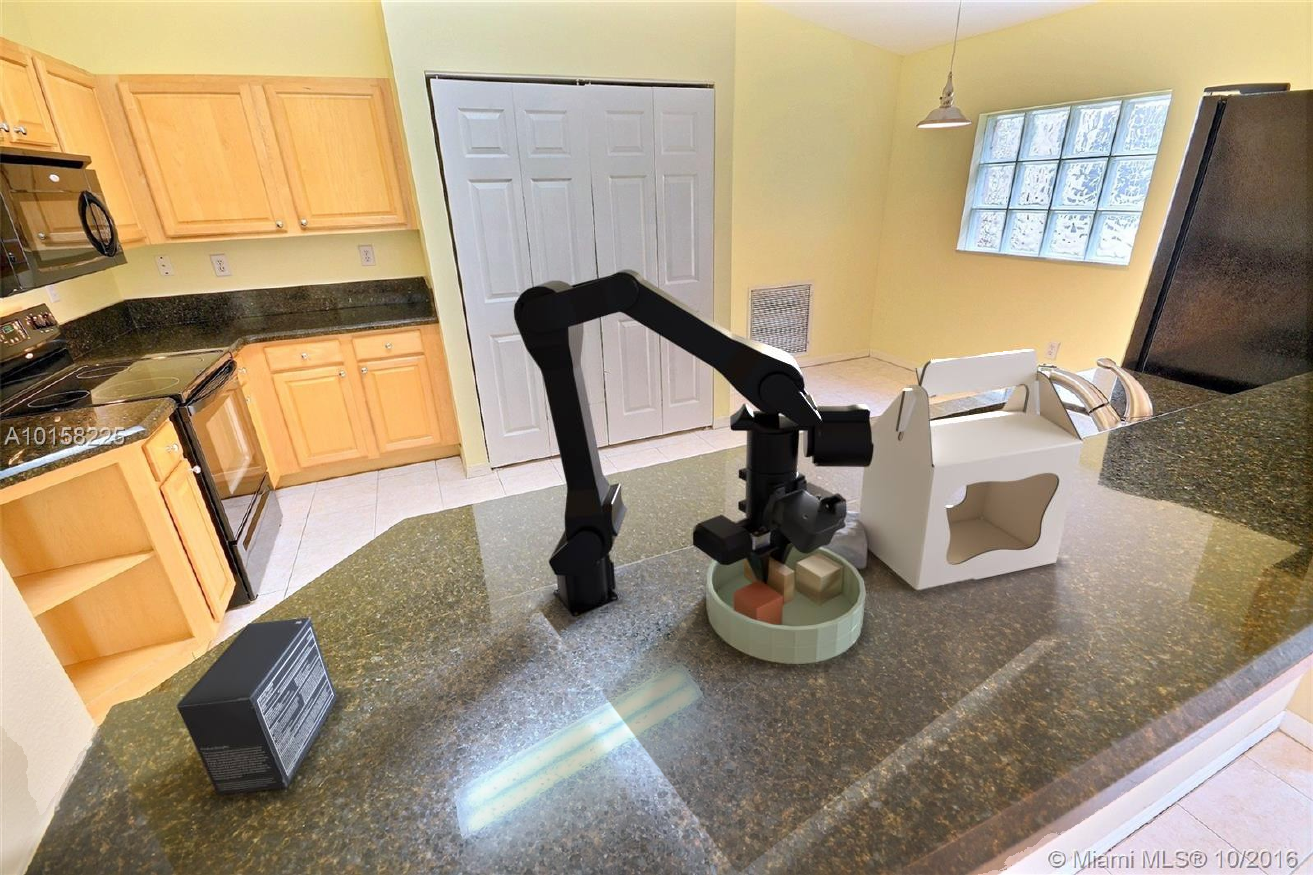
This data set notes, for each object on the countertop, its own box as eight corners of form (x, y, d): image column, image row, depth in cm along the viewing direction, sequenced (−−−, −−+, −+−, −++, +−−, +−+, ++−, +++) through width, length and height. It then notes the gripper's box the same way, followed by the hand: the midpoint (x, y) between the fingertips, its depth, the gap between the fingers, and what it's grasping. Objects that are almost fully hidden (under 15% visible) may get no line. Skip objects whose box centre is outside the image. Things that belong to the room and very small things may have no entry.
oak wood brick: (783, 605, 68) (784, 576, 66) (743, 577, 73) (744, 550, 72) (793, 600, 68) (794, 571, 67) (753, 573, 74) (753, 546, 73)
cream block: (819, 605, 70) (820, 577, 69) (795, 589, 73) (796, 562, 72) (841, 593, 72) (843, 566, 71) (817, 578, 75) (819, 552, 74)
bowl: (780, 694, 58) (782, 654, 56) (677, 603, 73) (676, 569, 71) (895, 624, 67) (899, 588, 65) (783, 556, 82) (784, 525, 80)
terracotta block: (756, 638, 65) (756, 608, 64) (733, 619, 68) (733, 591, 67) (782, 624, 67) (783, 595, 66) (758, 607, 70) (759, 579, 69)
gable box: (982, 518, 89) (1013, 338, 79) (1058, 563, 77) (1105, 357, 67) (854, 542, 84) (871, 353, 74) (914, 594, 72) (942, 377, 62)
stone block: (798, 580, 79) (874, 570, 76) (790, 550, 78) (867, 538, 75) (796, 538, 90) (863, 528, 87) (789, 510, 89) (857, 499, 86)
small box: (275, 703, 60) (246, 620, 56) (340, 697, 60) (315, 614, 57) (210, 797, 50) (169, 704, 46) (288, 789, 50) (253, 696, 47)
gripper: (758, 515, 54) (755, 650, 59) (886, 466, 63) (872, 586, 69) (688, 476, 63) (691, 596, 68) (809, 438, 72) (803, 547, 77)
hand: (767, 581), depth 70 cm, fingers closed on oak wood brick, 1 cm apart
